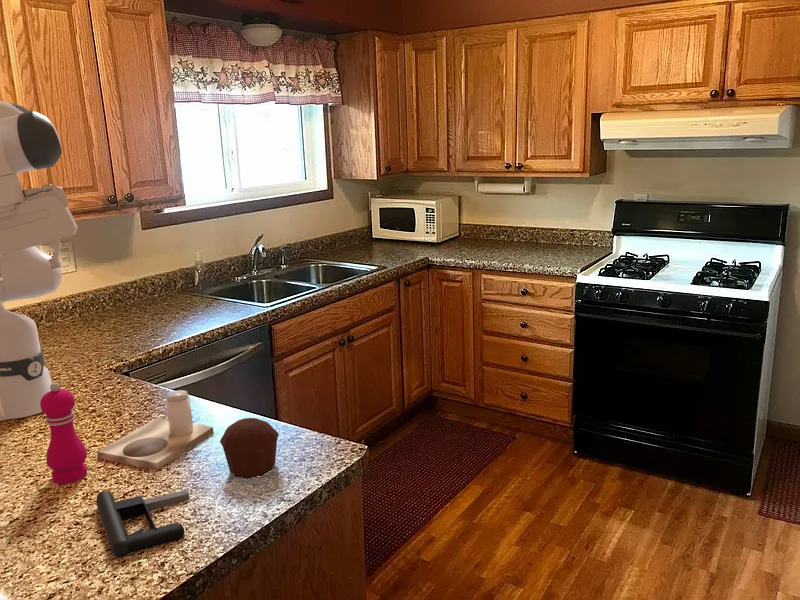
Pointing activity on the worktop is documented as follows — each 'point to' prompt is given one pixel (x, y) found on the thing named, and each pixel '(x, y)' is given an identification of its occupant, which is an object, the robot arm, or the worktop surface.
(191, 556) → the worktop surface
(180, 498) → the door handle
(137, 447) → the condiment board
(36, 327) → the robot arm
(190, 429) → the salt shaker
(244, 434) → the muffin
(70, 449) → the pepper mill
